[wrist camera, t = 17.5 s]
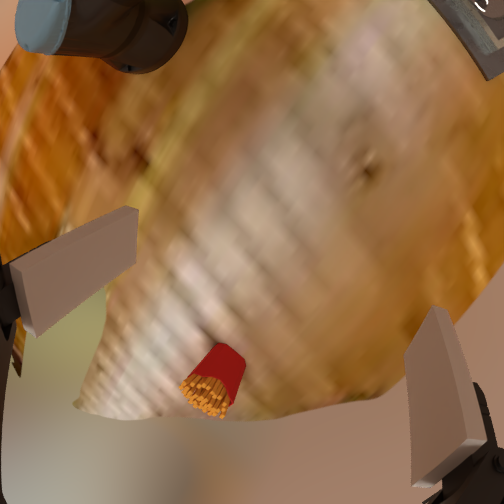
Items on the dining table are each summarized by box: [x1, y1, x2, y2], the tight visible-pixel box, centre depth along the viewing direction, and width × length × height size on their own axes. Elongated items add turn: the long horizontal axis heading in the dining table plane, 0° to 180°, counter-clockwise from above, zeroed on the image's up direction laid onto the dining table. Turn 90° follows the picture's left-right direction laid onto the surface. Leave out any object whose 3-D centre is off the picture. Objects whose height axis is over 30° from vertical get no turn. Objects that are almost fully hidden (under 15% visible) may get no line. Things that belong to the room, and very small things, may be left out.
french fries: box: [179, 343, 246, 419], centre depth 53 cm, size 9×4×13 cm, turn 51°
